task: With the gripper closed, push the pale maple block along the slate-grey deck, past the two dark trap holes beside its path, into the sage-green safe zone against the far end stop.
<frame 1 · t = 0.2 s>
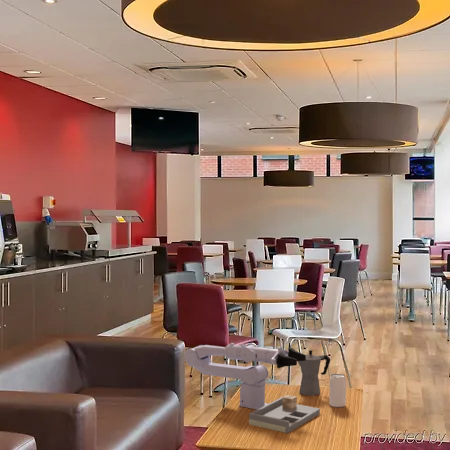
hand: (301, 360, 280), 21 cm above the table, tool horizontal, fingers open, 7 cm apart
can: (337, 405, 294), on the table
block: (289, 407, 284), point 2 cm above the table, touching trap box
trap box: (285, 419, 276), on the table
coffeepot: (312, 392, 311), on the table
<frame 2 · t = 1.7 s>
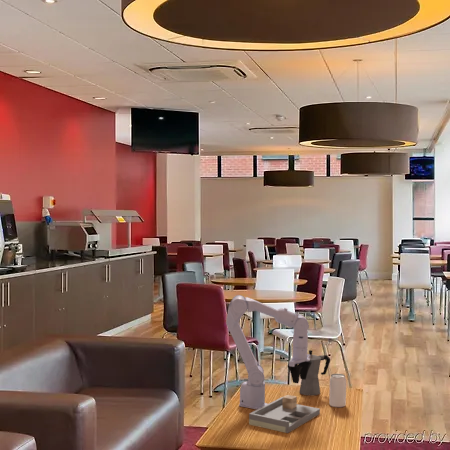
hand: (299, 380, 290), 10 cm above the table, tool pointing down, fingers open, 6 cm apart
nothing on the table moved.
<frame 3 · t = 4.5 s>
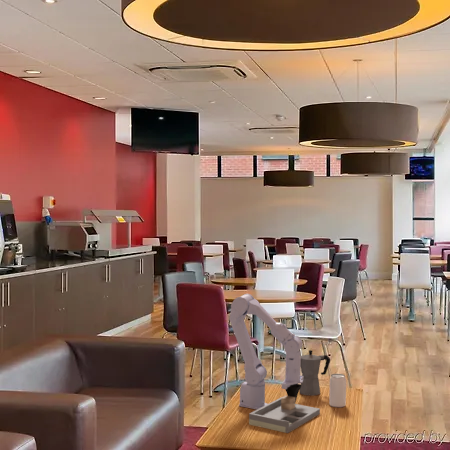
hand: (292, 403, 286), 3 cm above the table, tool pointing down, fingers closed
block: (288, 407, 283), point 2 cm above the table, touching gripper, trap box
everything else where it was.
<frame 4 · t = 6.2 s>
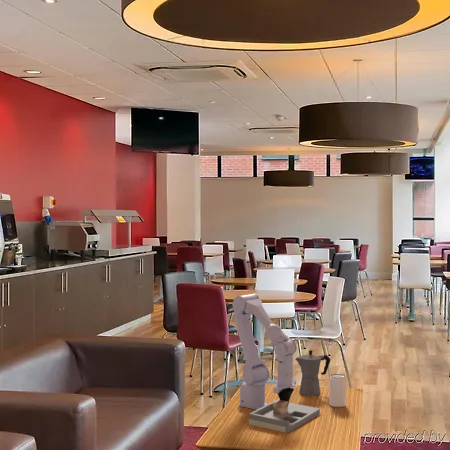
hand: (284, 407, 281), 3 cm above the table, tool pointing down, fingers closed
block: (280, 412, 278), point 2 cm above the table, touching gripper, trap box
everything else where it was.
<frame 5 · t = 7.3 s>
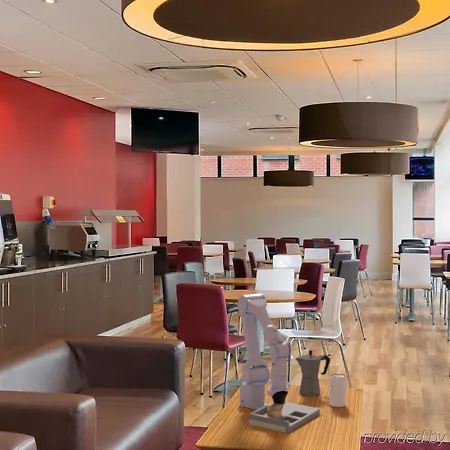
hand: (278, 410, 277), 3 cm above the table, tool pointing down, fingers closed
block: (274, 415, 274), point 2 cm above the table, touching gripper
everything else where it was.
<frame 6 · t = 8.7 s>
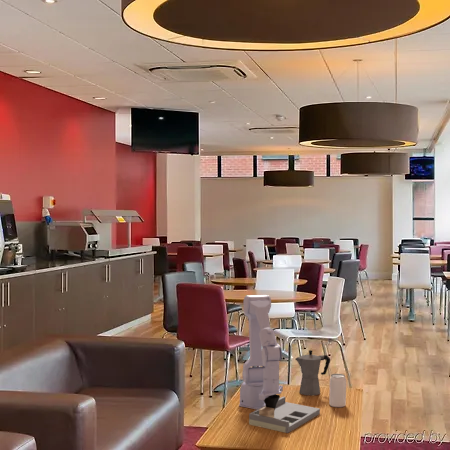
hand: (270, 414, 272), 3 cm above the table, tool pointing down, fingers closed
block: (266, 419, 269), point 2 cm above the table, touching gripper, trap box
everything else where it was.
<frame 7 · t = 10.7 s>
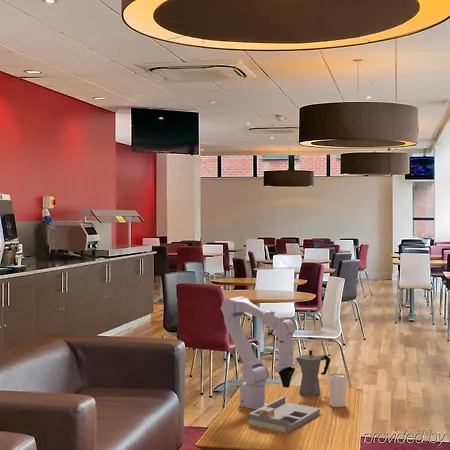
hand: (286, 387, 282), 10 cm above the table, tool pointing down, fingers closed
block: (266, 419, 269), point 2 cm above the table, touching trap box
everything else where it was.
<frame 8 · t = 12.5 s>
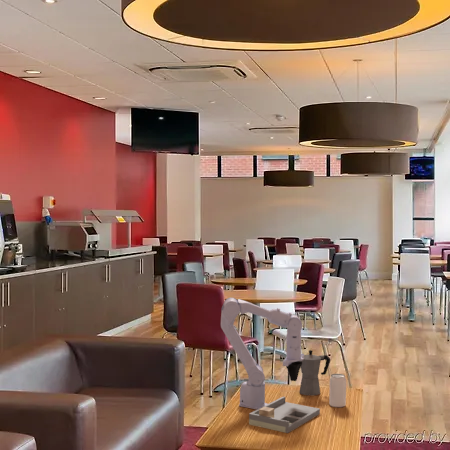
hand: (293, 380, 291), 10 cm above the table, tool pointing down, fingers closed
nothing on the table moved.
at the end: block 0.3 cm from the target spot, point 2.0 cm above the table; block tilted 0° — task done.
